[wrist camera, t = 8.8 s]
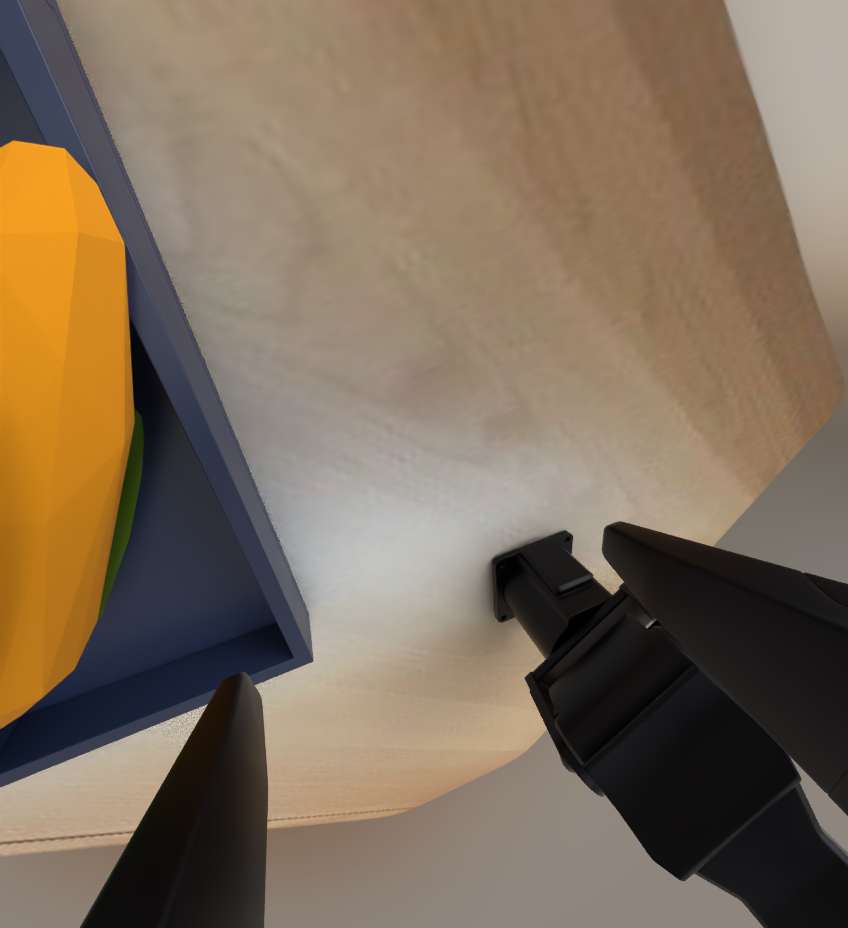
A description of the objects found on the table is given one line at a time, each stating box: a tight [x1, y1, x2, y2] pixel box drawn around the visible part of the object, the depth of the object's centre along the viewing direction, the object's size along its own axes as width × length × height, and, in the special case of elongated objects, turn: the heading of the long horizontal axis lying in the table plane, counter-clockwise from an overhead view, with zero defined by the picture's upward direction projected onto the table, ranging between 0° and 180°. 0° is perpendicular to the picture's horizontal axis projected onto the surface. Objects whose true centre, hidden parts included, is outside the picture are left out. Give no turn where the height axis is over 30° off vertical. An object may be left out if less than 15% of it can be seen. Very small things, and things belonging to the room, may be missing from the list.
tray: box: [0, 0, 313, 787], centre depth 13 cm, size 26×15×3 cm, turn 8°
